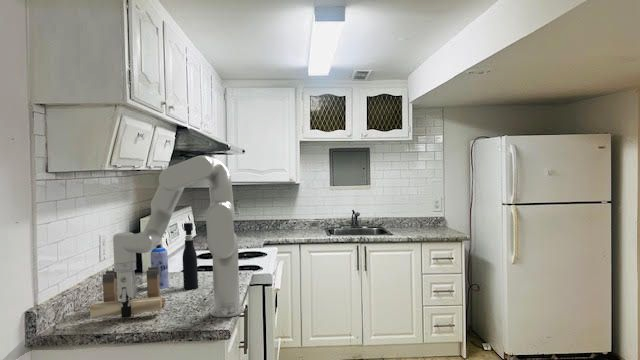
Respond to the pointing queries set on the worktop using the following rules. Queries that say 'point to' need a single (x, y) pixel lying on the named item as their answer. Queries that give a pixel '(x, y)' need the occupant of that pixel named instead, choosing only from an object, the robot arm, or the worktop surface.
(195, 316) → the worktop surface
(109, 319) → the worktop surface
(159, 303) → the maple bar
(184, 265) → the black tall bottle
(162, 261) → the aerosol can
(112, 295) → the walnut rack
